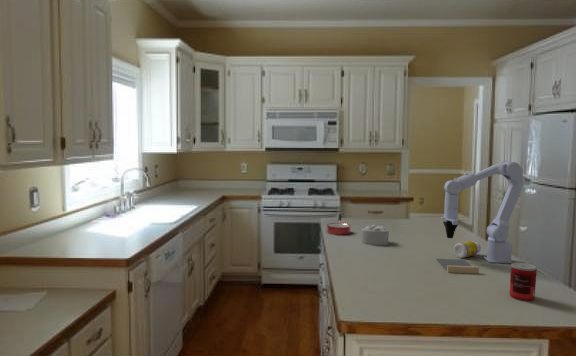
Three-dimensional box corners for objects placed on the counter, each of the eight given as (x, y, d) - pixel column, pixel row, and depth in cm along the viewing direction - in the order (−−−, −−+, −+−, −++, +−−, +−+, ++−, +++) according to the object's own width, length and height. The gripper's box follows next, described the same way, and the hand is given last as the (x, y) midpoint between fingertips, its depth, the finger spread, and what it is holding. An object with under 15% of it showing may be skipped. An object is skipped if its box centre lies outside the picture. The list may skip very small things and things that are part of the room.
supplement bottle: (468, 253, 198) (485, 249, 205) (459, 240, 202) (477, 237, 209) (458, 261, 203) (476, 257, 210) (450, 248, 206) (467, 245, 213)
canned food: (526, 293, 157) (528, 262, 156) (539, 301, 150) (542, 269, 149) (504, 293, 157) (506, 262, 156) (517, 301, 149) (519, 268, 148)
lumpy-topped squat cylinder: (389, 245, 224) (389, 228, 224) (362, 245, 225) (363, 228, 224) (385, 240, 235) (386, 224, 234) (360, 240, 235) (360, 224, 234)
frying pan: (325, 223, 279) (325, 213, 278) (346, 224, 278) (346, 214, 278) (327, 235, 247) (327, 223, 246) (351, 235, 246) (351, 224, 246)
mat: (464, 260, 199) (464, 255, 198) (478, 273, 179) (478, 267, 179) (436, 259, 200) (436, 253, 199) (447, 272, 181) (447, 266, 180)
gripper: (437, 205, 207) (436, 234, 208) (446, 210, 192) (444, 241, 194) (453, 205, 206) (452, 234, 207) (463, 210, 192) (461, 241, 193)
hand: (449, 237), depth 200 cm, fingers closed
